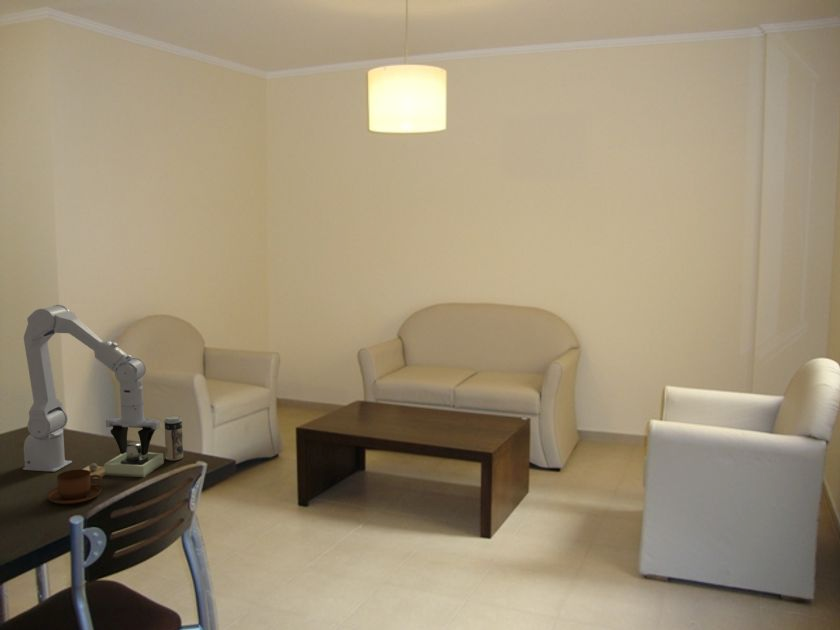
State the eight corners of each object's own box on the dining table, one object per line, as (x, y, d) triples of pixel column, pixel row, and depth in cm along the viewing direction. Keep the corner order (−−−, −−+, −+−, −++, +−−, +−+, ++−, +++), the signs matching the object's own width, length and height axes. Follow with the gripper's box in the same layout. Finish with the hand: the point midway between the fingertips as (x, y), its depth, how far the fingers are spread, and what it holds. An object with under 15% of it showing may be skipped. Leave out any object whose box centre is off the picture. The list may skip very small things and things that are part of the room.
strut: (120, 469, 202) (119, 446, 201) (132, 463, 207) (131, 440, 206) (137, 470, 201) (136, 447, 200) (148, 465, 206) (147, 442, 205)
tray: (104, 474, 199) (104, 464, 199) (126, 461, 210) (126, 451, 210) (143, 477, 198) (143, 466, 197) (163, 463, 209) (163, 453, 208)
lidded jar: (177, 462, 210) (176, 420, 208) (162, 460, 211) (160, 419, 209) (186, 456, 215) (185, 415, 213) (171, 455, 216) (169, 414, 214)
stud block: (73, 477, 197) (73, 466, 197) (88, 468, 204) (88, 458, 204) (98, 478, 196) (97, 468, 196) (113, 469, 203) (112, 459, 203)
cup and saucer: (86, 486, 191) (85, 463, 191) (111, 497, 184) (110, 473, 183) (38, 499, 182) (37, 475, 181) (62, 512, 175) (60, 487, 174)
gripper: (98, 407, 199) (101, 456, 200) (150, 409, 197) (152, 459, 198) (113, 400, 205) (115, 448, 207) (163, 402, 203) (164, 451, 205)
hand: (134, 453), depth 203 cm, fingers open, 5 cm apart
